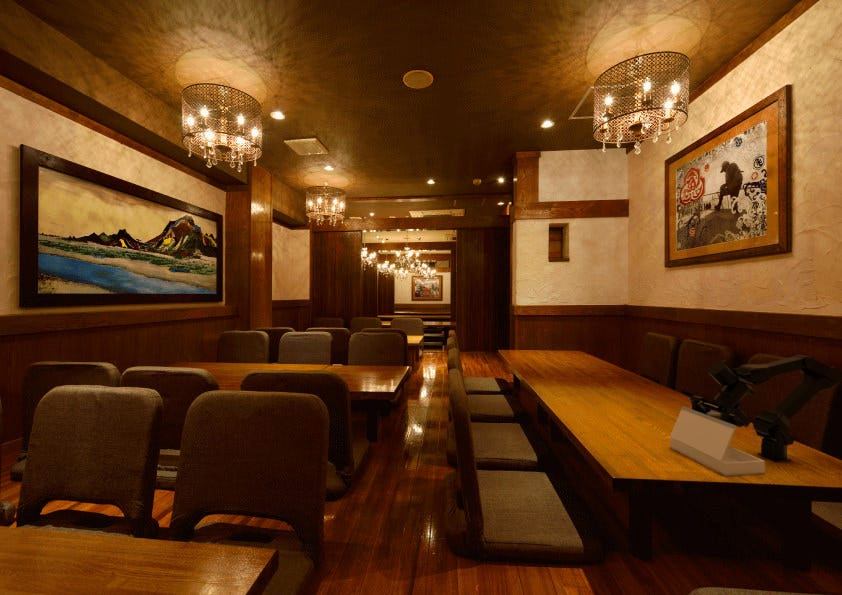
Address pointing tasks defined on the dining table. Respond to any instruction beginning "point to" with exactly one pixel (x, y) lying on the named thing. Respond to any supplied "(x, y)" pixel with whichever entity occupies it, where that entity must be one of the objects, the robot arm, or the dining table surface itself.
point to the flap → (703, 432)
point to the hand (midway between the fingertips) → (702, 428)
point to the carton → (729, 466)
